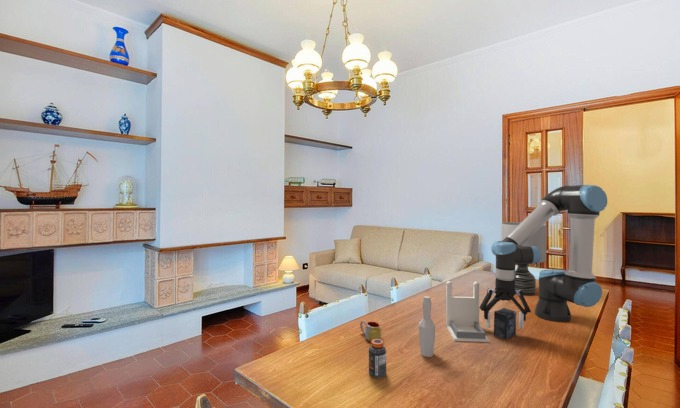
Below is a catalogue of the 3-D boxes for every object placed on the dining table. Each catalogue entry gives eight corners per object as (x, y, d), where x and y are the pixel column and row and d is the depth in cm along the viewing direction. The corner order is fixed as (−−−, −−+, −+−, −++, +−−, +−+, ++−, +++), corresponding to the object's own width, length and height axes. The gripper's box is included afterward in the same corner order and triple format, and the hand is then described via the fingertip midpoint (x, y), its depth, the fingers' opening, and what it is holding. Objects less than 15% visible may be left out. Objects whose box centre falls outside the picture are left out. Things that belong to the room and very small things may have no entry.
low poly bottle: (432, 359, 120) (432, 300, 120) (416, 355, 124) (416, 298, 123) (437, 352, 126) (437, 296, 125) (421, 348, 129) (421, 293, 128)
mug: (385, 340, 137) (385, 324, 137) (372, 344, 133) (372, 328, 133) (367, 330, 147) (367, 316, 147) (355, 334, 143) (355, 319, 143)
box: (506, 340, 136) (506, 315, 136) (493, 335, 141) (493, 311, 141) (516, 335, 140) (516, 311, 140) (503, 330, 145) (503, 307, 145)
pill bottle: (367, 369, 114) (367, 337, 114) (384, 368, 115) (384, 336, 114) (370, 379, 108) (370, 345, 108) (388, 378, 109) (387, 344, 108)
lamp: (554, 298, 189) (555, 225, 188) (513, 298, 190) (513, 225, 188) (531, 286, 213) (531, 222, 212) (494, 286, 214) (494, 222, 212)
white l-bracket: (478, 326, 150) (478, 280, 149) (489, 342, 134) (490, 290, 134) (445, 325, 151) (445, 280, 151) (453, 340, 136) (453, 290, 135)
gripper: (531, 277, 142) (530, 325, 143) (472, 275, 145) (471, 322, 146) (540, 281, 135) (539, 332, 135) (477, 279, 138) (477, 329, 138)
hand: (504, 327), depth 141 cm, fingers open, 13 cm apart
